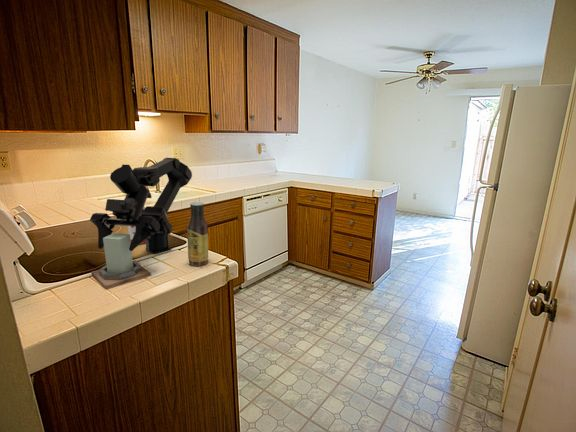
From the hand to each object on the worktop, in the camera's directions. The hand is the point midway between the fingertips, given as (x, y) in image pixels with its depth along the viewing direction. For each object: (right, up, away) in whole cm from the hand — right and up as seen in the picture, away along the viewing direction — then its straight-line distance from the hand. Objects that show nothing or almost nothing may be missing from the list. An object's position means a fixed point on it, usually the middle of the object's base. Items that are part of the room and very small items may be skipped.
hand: (114, 249), depth 87 cm
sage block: (0, -7, +3) cm, 8 cm away
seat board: (0, -8, +3) cm, 9 cm away
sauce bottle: (+20, -6, +13) cm, 25 cm away
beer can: (-8, -1, +30) cm, 31 cm away
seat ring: (0, -8, +3) cm, 9 cm away
